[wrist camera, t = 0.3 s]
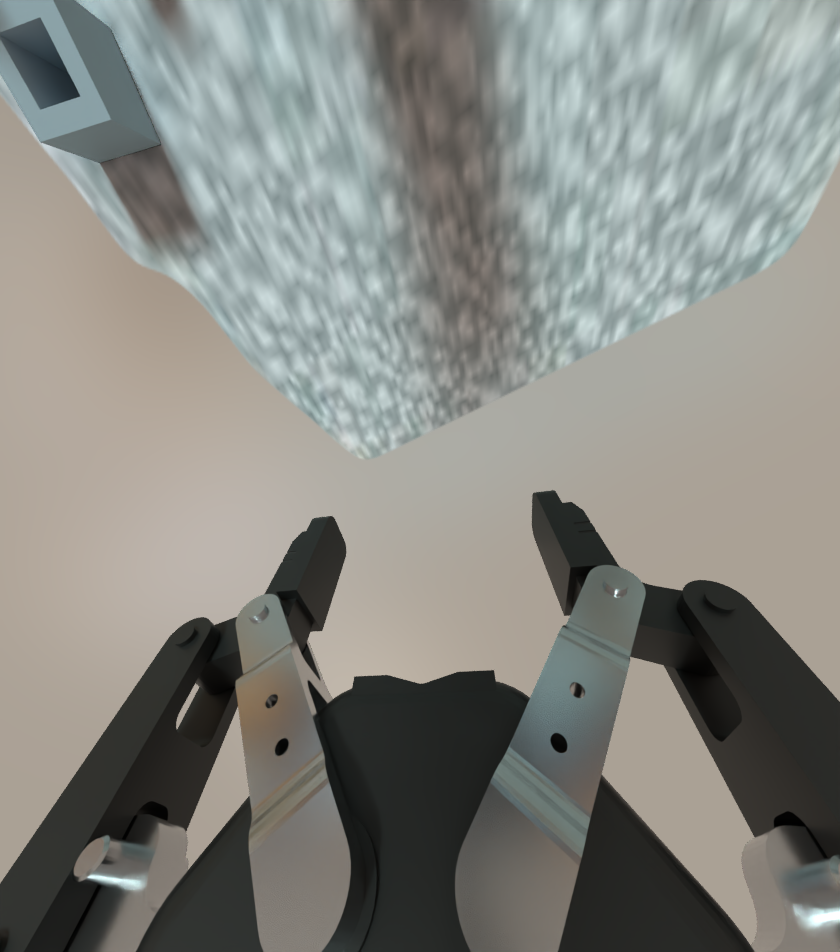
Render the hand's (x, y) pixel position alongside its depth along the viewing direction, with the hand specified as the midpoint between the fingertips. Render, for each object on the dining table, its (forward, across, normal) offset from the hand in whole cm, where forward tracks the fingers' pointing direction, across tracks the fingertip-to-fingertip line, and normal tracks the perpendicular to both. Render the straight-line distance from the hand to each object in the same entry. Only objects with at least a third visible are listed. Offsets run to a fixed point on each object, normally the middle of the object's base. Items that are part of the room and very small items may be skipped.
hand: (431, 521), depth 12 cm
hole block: (+29, +24, -26) cm, 46 cm away
